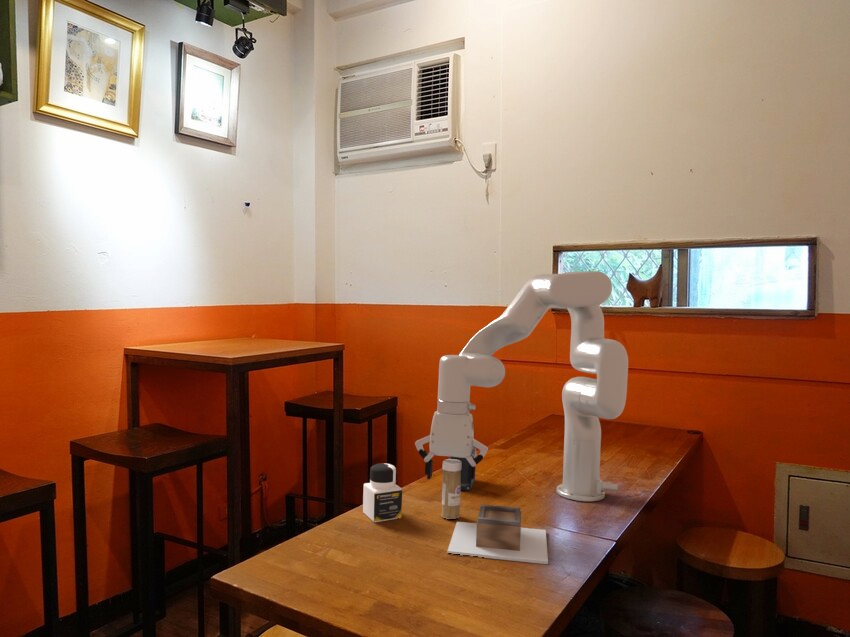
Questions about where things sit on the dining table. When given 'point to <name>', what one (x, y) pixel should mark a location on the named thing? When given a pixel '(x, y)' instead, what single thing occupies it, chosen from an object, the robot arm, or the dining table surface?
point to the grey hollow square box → (499, 527)
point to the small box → (465, 472)
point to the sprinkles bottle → (451, 488)
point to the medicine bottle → (382, 494)
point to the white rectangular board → (530, 549)
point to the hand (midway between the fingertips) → (449, 479)
